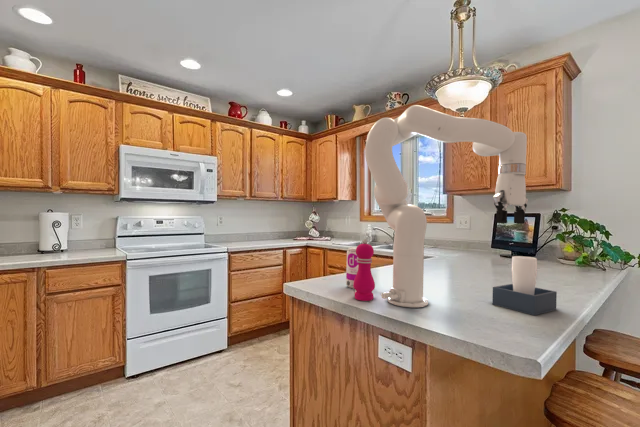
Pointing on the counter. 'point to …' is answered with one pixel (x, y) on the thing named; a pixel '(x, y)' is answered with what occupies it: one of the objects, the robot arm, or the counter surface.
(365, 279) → the pepper mill
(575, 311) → the counter surface
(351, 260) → the supplement can
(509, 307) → the tub
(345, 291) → the counter surface
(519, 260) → the drinking glass
